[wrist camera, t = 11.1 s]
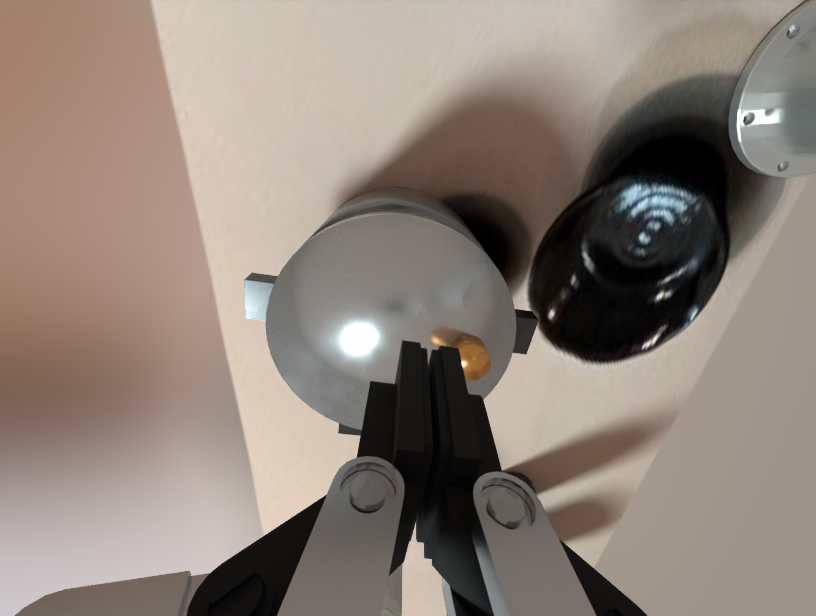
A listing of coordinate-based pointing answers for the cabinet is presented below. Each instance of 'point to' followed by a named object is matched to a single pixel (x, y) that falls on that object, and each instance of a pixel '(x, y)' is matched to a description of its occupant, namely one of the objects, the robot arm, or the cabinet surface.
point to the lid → (385, 309)
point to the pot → (385, 201)
